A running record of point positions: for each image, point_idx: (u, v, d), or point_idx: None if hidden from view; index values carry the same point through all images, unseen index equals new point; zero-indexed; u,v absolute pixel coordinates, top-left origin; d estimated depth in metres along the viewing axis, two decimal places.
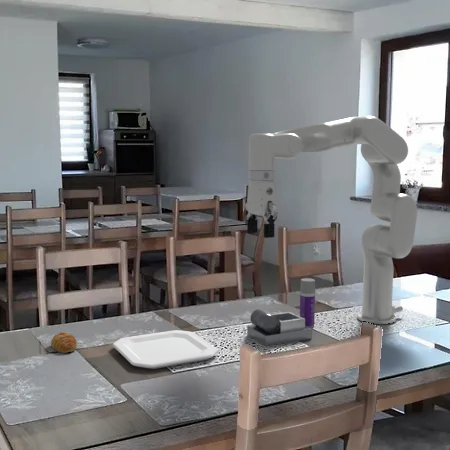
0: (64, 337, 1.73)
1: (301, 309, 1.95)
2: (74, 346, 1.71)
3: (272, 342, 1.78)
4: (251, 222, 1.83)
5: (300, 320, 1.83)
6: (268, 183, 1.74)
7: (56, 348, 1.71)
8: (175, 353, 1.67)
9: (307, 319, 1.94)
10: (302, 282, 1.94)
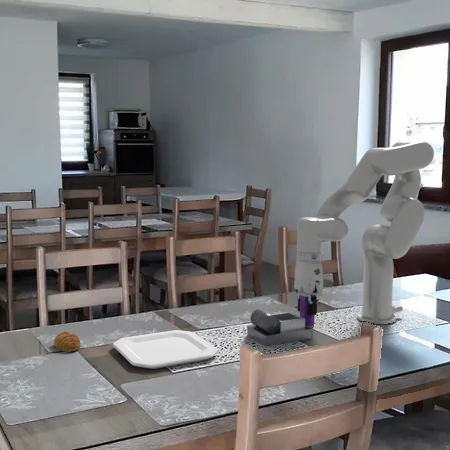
0: (67, 336, 1.74)
1: (301, 309, 1.95)
2: (78, 345, 1.72)
3: (272, 342, 1.78)
4: None
5: (300, 320, 1.83)
6: (316, 264, 1.90)
7: (60, 347, 1.72)
8: (175, 353, 1.67)
9: (307, 319, 1.94)
10: None
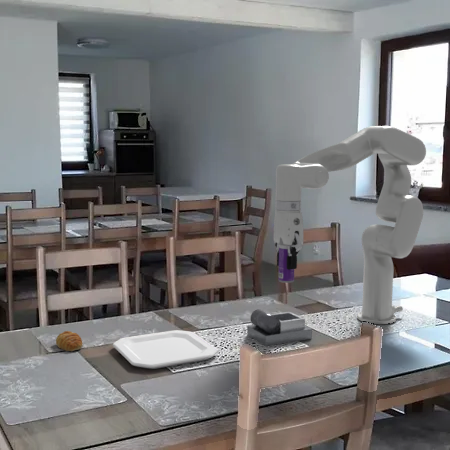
0: (69, 336, 1.74)
1: (280, 263, 1.82)
2: (80, 344, 1.72)
3: (272, 342, 1.78)
4: None
5: (300, 320, 1.83)
6: (295, 213, 1.77)
7: (62, 347, 1.72)
8: (175, 353, 1.67)
9: (286, 273, 1.81)
10: None
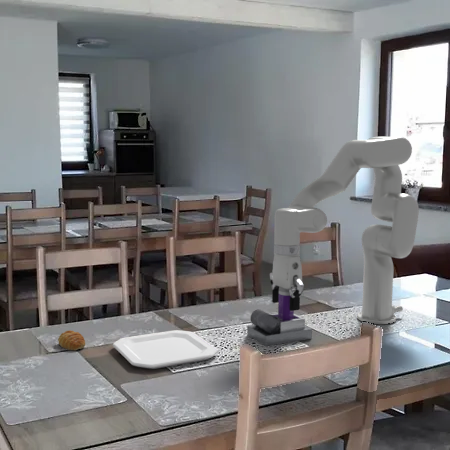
0: (72, 335, 1.75)
1: (279, 309, 1.84)
2: (83, 343, 1.73)
3: (272, 342, 1.78)
4: (276, 292, 1.88)
5: (300, 320, 1.83)
6: (294, 258, 1.79)
7: (65, 346, 1.73)
8: (175, 353, 1.67)
9: (285, 319, 1.83)
10: None
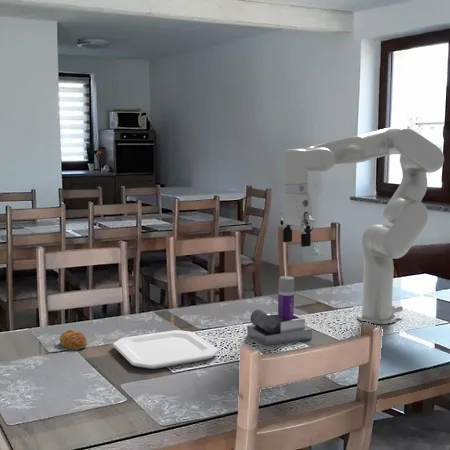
0: (74, 334, 1.76)
1: (279, 309, 1.84)
2: (85, 343, 1.74)
3: (272, 342, 1.78)
4: (286, 232, 1.95)
5: (300, 320, 1.83)
6: (304, 195, 1.86)
7: (67, 345, 1.73)
8: (175, 353, 1.67)
9: (285, 319, 1.83)
10: (280, 280, 1.83)
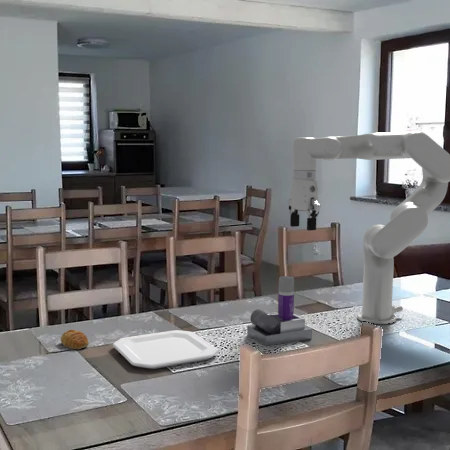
0: (75, 334, 1.76)
1: (279, 309, 1.84)
2: (87, 342, 1.74)
3: (272, 342, 1.78)
4: (294, 217, 2.04)
5: (300, 320, 1.83)
6: (311, 181, 1.95)
7: (68, 345, 1.74)
8: (175, 353, 1.67)
9: (285, 319, 1.83)
10: (280, 280, 1.83)
